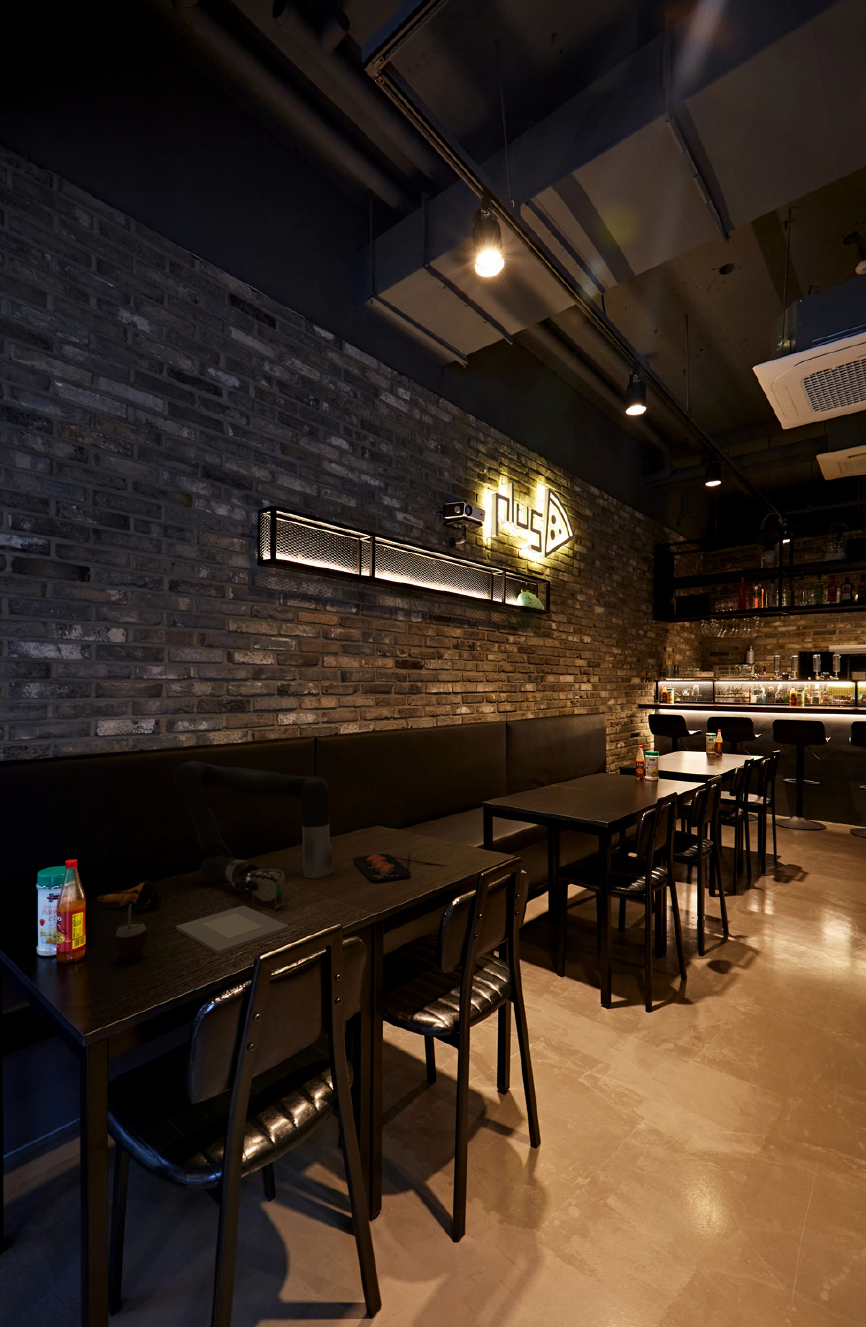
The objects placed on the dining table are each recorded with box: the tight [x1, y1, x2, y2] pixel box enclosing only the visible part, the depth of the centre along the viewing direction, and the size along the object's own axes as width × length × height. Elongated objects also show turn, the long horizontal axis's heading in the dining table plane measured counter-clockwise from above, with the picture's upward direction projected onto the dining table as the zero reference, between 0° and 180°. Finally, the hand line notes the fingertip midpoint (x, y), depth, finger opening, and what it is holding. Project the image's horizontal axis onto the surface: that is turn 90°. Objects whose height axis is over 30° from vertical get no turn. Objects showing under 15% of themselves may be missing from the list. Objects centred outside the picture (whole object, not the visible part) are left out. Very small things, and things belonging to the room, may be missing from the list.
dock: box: [175, 904, 290, 956], centre depth 164 cm, size 20×24×1 cm
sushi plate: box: [352, 853, 447, 882], centre depth 217 cm, size 29×30×4 cm
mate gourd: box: [114, 904, 148, 965], centre depth 148 cm, size 8×8×15 cm
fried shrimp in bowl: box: [96, 879, 163, 912], centre depth 182 cm, size 9×11×18 cm
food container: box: [250, 868, 286, 912], centre depth 182 cm, size 12×6×10 cm, turn 58°
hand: (269, 884), depth 183 cm, fingers open, 8 cm apart
